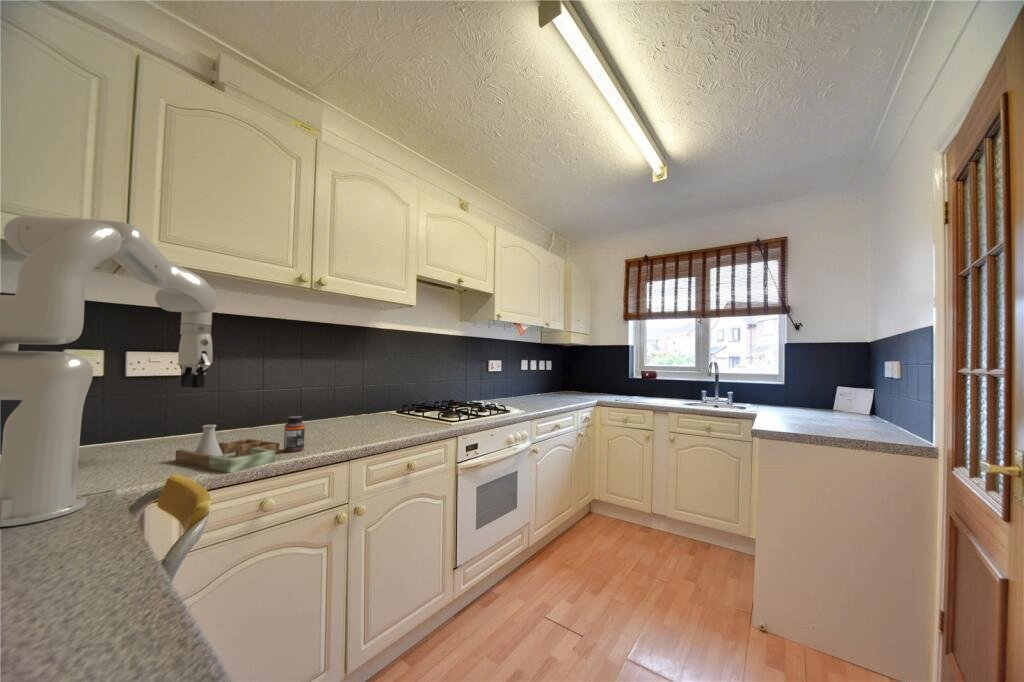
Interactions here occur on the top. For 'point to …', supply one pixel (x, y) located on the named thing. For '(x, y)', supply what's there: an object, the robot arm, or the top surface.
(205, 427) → the flask
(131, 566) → the top surface
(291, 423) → the supplement bottle
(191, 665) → the top surface
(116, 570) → the top surface
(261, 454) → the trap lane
